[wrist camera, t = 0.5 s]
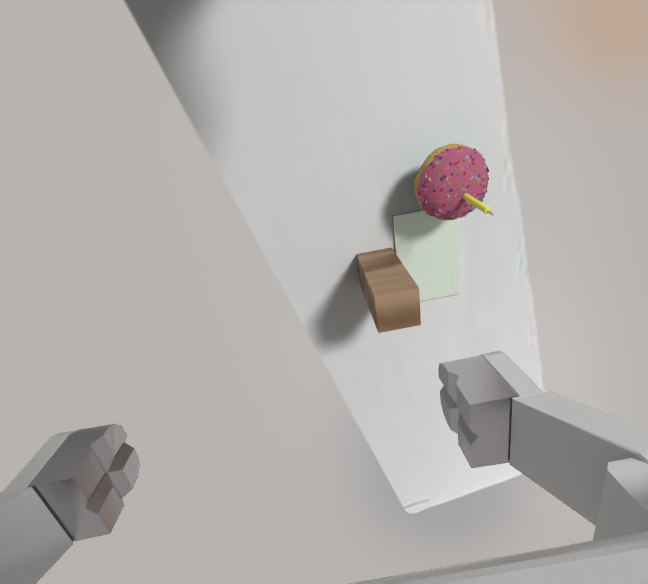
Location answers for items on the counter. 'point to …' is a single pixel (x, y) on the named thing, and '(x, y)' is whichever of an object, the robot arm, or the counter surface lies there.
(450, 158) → the cupcake
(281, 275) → the counter surface
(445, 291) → the mat
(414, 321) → the block
